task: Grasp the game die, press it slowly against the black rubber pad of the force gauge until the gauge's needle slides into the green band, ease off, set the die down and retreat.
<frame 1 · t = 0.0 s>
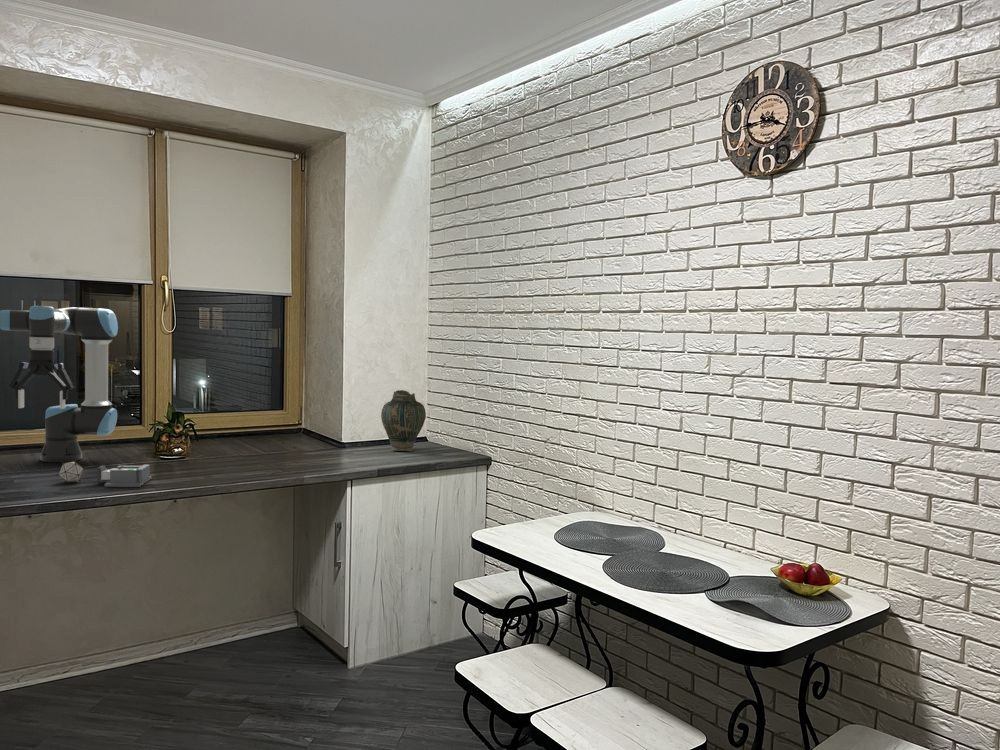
hand: (42, 408, 259), 28 cm above the counter, fingers open, 13 cm apart
vase: (402, 450, 362), on the counter
gauge housing: (128, 482, 270), on the counter
game die: (71, 482, 267), on the counter
plunger: (111, 472, 268), point 4 cm above the counter, slide at 0.0 cm
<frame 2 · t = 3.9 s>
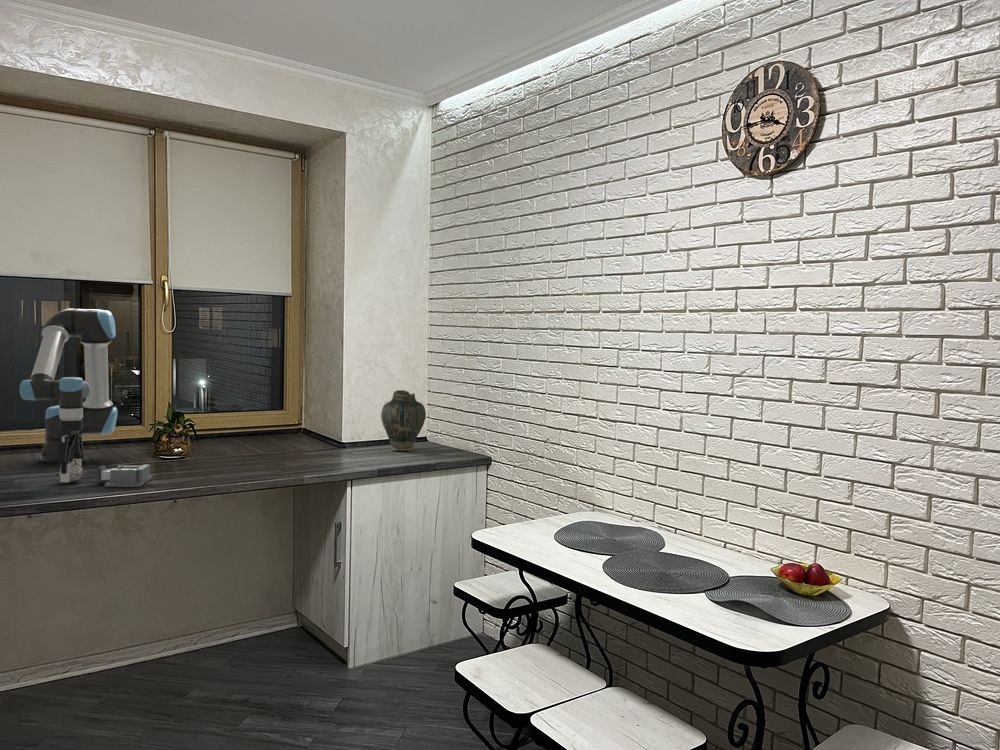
hand: (71, 479, 267), 1 cm above the counter, fingers closed on game die, 10 cm apart
game die: (71, 482, 267), on the counter, touching gripper
everything else where it was.
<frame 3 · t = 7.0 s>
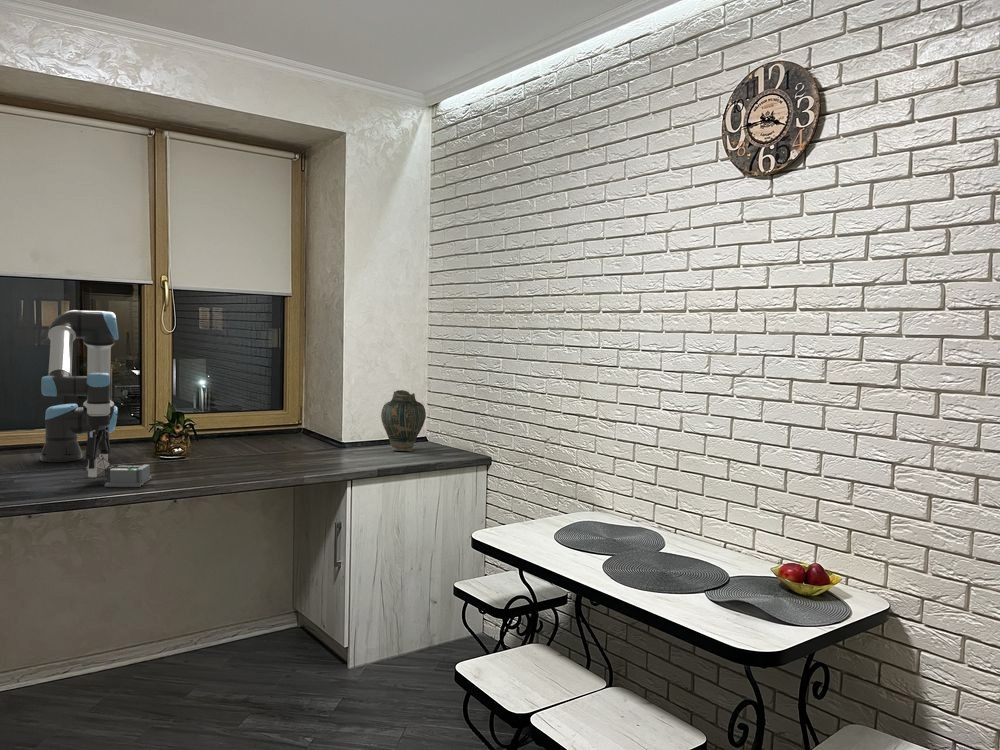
hand: (98, 474, 268), 3 cm above the counter, fingers closed on game die, 10 cm apart
game die: (98, 477, 268), point 2 cm above the counter, touching gripper
plunger: (121, 472, 268), point 4 cm above the counter, slide at 3.4 cm
everything else where it was.
when the fingers open (2 cm above the counter, at t = 9.0 s): game die stays where it is, on the counter.
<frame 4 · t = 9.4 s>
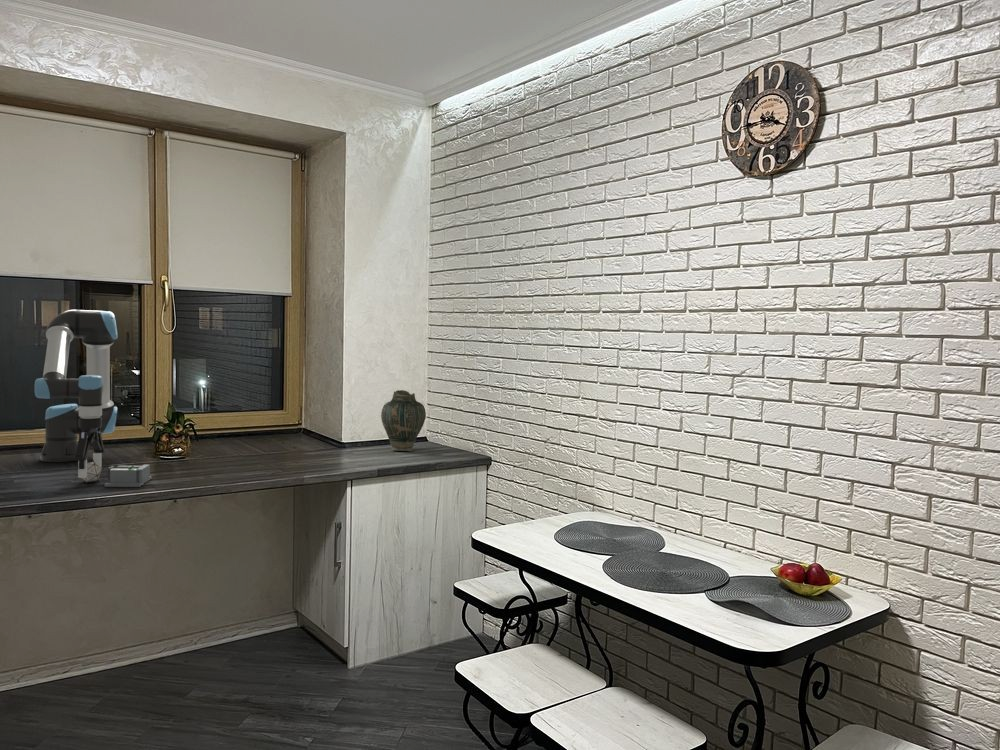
hand: (90, 473, 268), 3 cm above the counter, fingers open, 13 cm apart
game die: (89, 483, 268), on the counter
everything else where it was.
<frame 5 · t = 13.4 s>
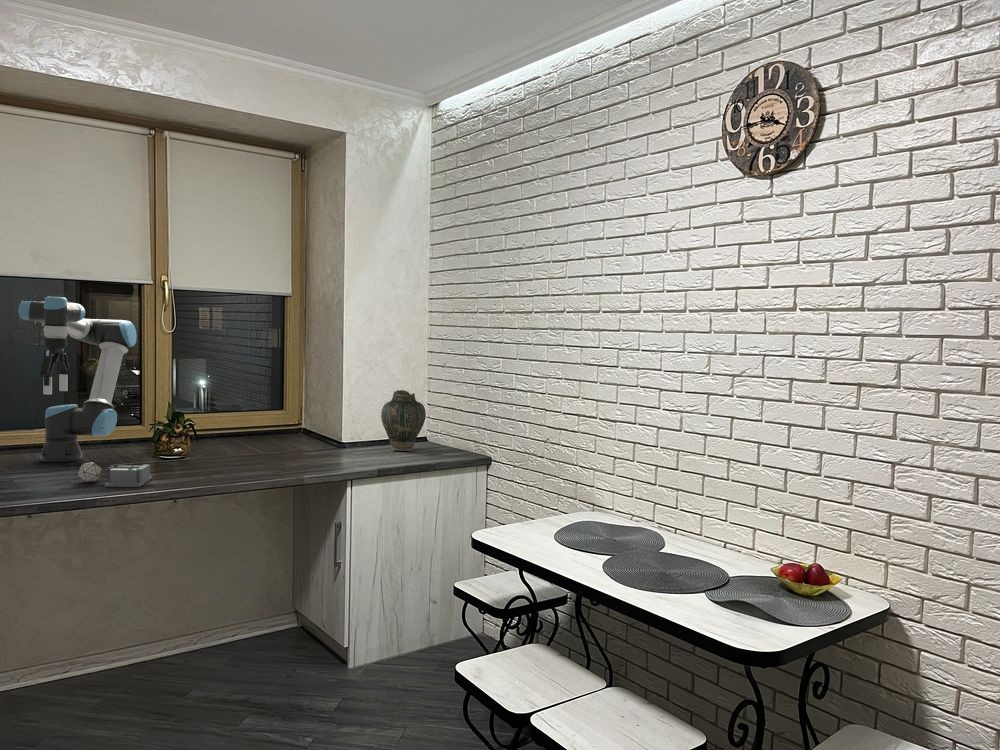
hand: (55, 392, 277), 32 cm above the counter, fingers open, 13 cm apart
nothing on the counter moved.
at the end: plunger slide at 3.5 cm; the gripper is holding nothing; game die inside the target area (0.2 cm from its centre), on the counter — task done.
